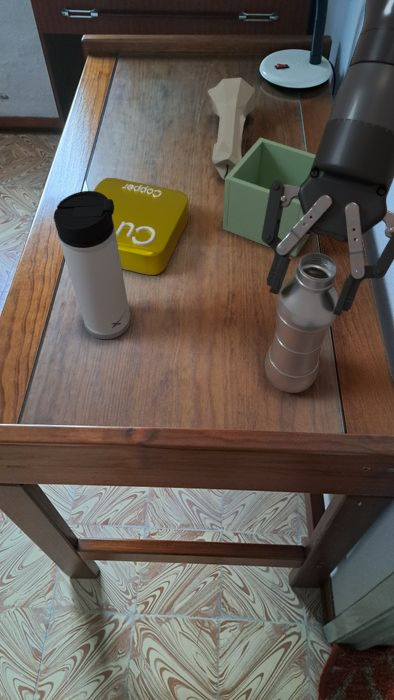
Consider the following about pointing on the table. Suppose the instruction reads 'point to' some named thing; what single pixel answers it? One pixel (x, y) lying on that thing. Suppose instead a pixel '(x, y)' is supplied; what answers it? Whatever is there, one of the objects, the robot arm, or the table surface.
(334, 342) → the table surface
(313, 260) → the silver metal bottle
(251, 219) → the caddy
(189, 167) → the table surface
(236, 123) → the faceted club
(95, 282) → the travel mug
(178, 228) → the element tile
